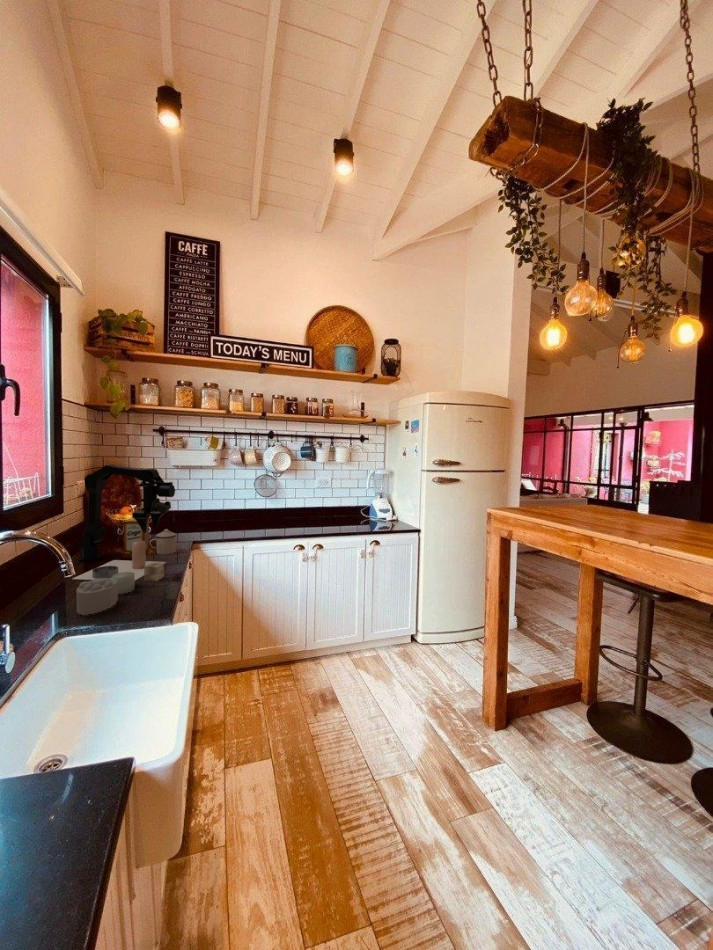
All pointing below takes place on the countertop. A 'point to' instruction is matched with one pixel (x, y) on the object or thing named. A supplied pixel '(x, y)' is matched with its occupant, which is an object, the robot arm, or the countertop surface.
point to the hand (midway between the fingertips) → (150, 530)
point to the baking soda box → (134, 534)
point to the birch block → (153, 571)
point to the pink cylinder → (138, 554)
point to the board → (122, 567)
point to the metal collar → (104, 572)
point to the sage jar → (125, 582)
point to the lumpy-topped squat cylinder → (96, 595)
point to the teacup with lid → (165, 542)
